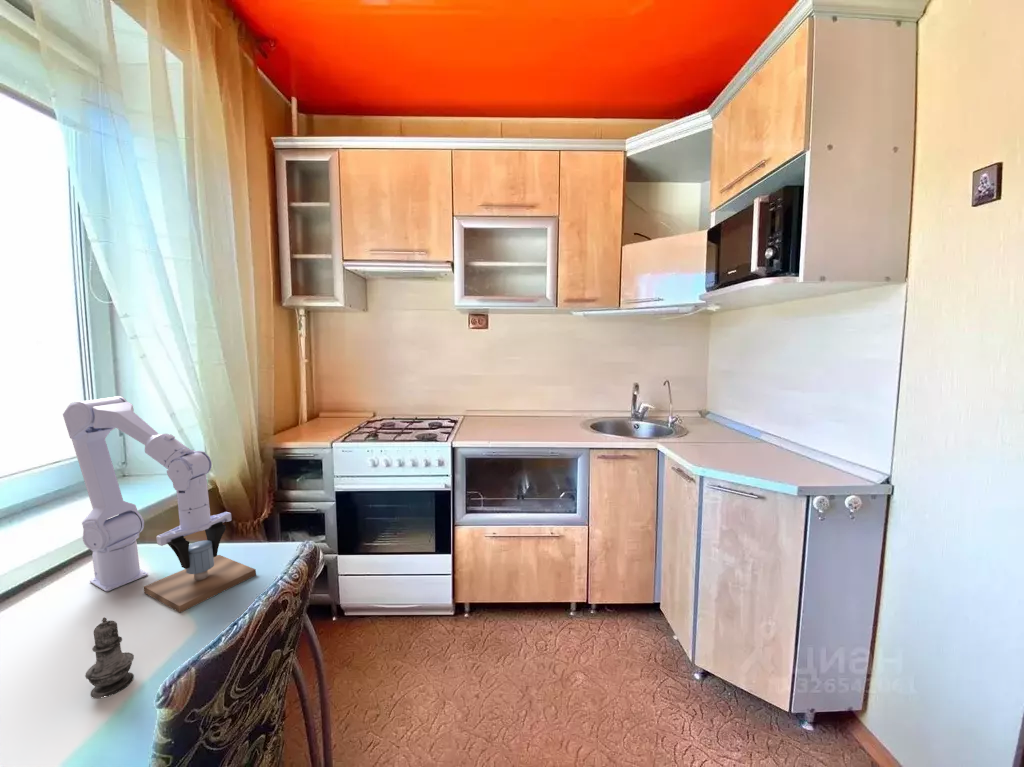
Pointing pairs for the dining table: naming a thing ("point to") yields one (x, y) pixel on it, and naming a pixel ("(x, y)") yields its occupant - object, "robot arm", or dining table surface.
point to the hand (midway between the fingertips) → (199, 561)
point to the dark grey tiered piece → (109, 662)
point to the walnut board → (198, 584)
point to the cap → (200, 557)
